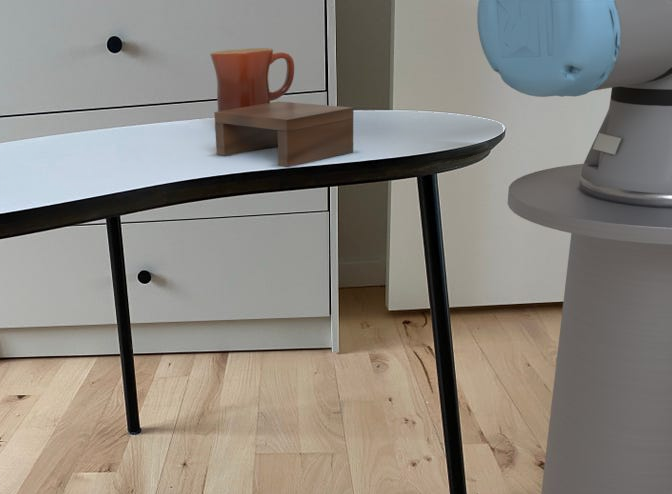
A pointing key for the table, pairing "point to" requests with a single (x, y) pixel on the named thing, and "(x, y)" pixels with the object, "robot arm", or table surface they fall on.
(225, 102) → the mug
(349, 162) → the table surface
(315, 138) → the shelf
